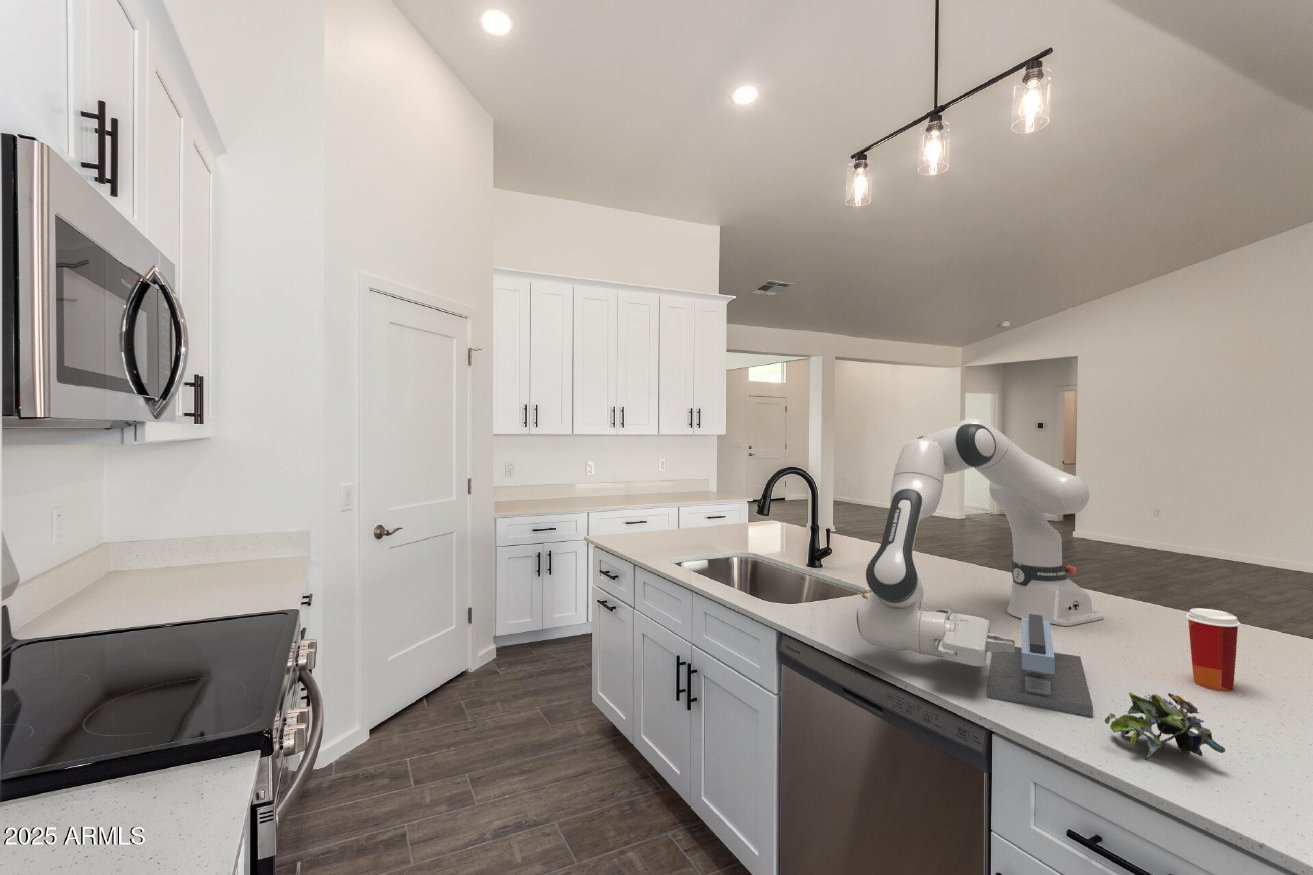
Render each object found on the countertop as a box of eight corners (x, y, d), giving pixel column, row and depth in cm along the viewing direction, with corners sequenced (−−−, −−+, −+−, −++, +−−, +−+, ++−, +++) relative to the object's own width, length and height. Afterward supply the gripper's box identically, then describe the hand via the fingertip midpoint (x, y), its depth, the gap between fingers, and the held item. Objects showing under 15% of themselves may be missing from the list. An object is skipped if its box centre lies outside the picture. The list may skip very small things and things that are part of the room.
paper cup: (1226, 679, 117) (1225, 609, 117) (1250, 695, 110) (1249, 621, 110) (1177, 674, 120) (1177, 605, 120) (1198, 690, 112) (1197, 617, 112)
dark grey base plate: (993, 652, 133) (993, 638, 133) (1080, 665, 125) (1080, 650, 125) (987, 697, 111) (987, 680, 111) (1092, 717, 103) (1092, 699, 103)
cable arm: (1022, 642, 130) (1021, 607, 130) (1049, 646, 127) (1048, 611, 127) (1022, 685, 108) (1021, 643, 108) (1054, 690, 106) (1054, 648, 106)
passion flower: (1183, 786, 92) (1246, 743, 86) (1141, 790, 88) (1204, 745, 82) (1121, 718, 101) (1175, 675, 95) (1080, 719, 97) (1134, 674, 91)
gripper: (930, 634, 114) (1013, 647, 107) (942, 606, 132) (1015, 615, 124) (931, 666, 114) (1014, 681, 107) (943, 634, 132) (1015, 645, 124)
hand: (1014, 645), depth 116 cm, fingers closed
